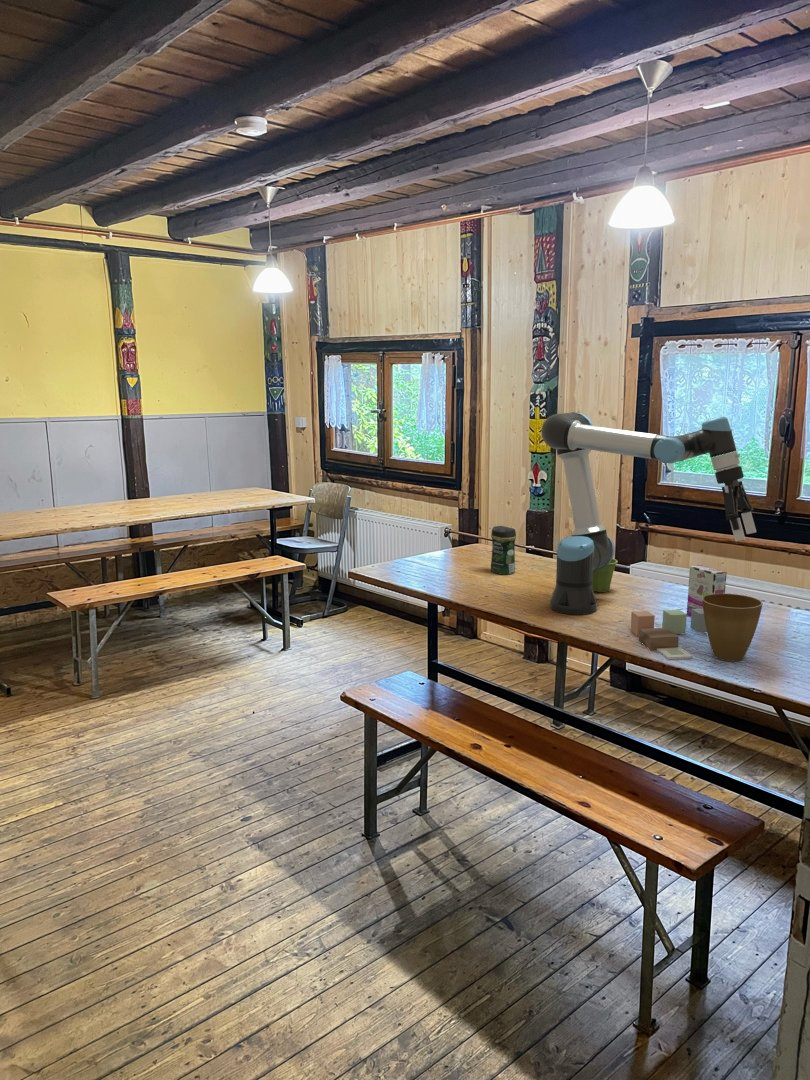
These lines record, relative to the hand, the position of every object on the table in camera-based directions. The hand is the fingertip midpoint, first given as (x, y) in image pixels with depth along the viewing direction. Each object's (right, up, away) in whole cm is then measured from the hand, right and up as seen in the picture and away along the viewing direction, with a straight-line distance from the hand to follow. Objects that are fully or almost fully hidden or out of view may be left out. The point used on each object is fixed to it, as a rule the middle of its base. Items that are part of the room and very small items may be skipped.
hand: (746, 536), depth 226 cm
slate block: (-13, -28, +2) cm, 31 cm away
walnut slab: (-30, -31, -11) cm, 45 cm away
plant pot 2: (-15, -33, -21) cm, 42 cm away
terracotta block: (-31, -29, 0) cm, 43 cm away
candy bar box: (-8, -26, +12) cm, 30 cm away
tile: (-28, -32, -19) cm, 47 cm away
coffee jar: (-63, -14, +74) cm, 98 cm away
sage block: (-22, -28, +1) cm, 36 cm away
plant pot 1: (-32, -19, +47) cm, 60 cm away
